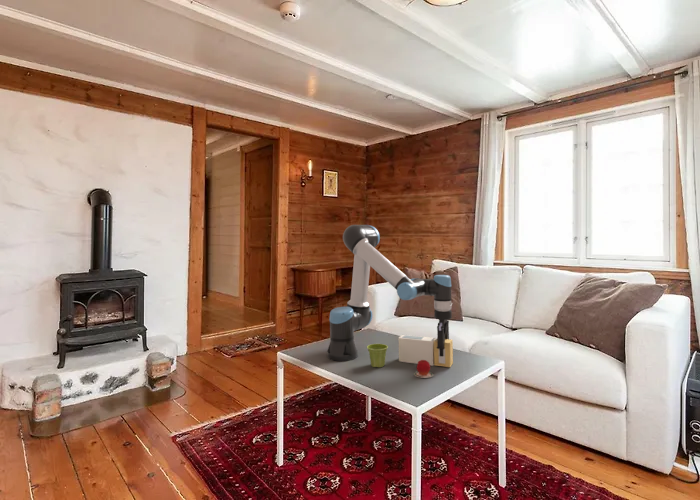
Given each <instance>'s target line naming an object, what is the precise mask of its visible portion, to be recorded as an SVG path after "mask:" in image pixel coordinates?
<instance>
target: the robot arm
mask: <svg viewBox="0 0 700 500" xmlns="http://www.w3.org/2000/svg"><path fill="white" fill-rule="evenodd" d="M380 236H381V235H380V232H379V231H378V229H377V228H376V227H375V226H373V225H369V224H351V225H349V226H347V227H346V229H345V230H344V231H343V233H342V241H343V244H344V245H345V248H347V249H348V250H349V251H350V252H351V253H352V254H353V255H354V256H353V268H352V276H351V277H352V281H351V291H350V300H348V301H347V303H346V304H347V305H346V306H339V307H334V308H333V309H331V310H330V313H329V319H328V320H329V333H330V334H329V339H330V340H329V343H328V348H327V351H326V357H327V359H329V360H331V359H332V361H337V362H342V361H344V362H345V361H352V360H354V359H357V357H358V355H359V352H358V348H357V345H356V343H355V337H354V336H355V332H356V331H357V330H360V329H364V328H366V327H367V326H369V325H370V323H372V320H373V311H372V309H371V307H370V302H368V293H369V284H370V283H369V281H370V272H371V271H370V270H371V268H372V269H373V270H374V271H375V273H377V274H379V275H380V277H382V278H383V279H384V280H385V281H386V282H387V283H388V284H389V285H391V287H392V288H394V289H395V290H396V293H397V296H398V297H399V299H400V300H402V301H410V300H413V299H416V298H419V297H421V296H433V304H434V305H433V308H434V311H433V312H434V319H436V320H438V322H437V326H436V330H437V334H436V335H437V338H436V339H437V349H439V363H443V364H445V349H444V348H445V347H444V346H445V339H450V331H449V330H450V329H449V328H450V327H449V324H450V320H451V319H452V318H453V316H452V314H453V313H452V305H453V304H454V303H453V302H452V279H451V276H450V275H449V274H436V275H434V276H433V278H432V279H431V278H428V279H427V278H418V277H416V278H411V279H410V278H409V276H407V275H406V274H405V273H404V272H403V271H401V270H400V269H399V268H398V267H397V266H396V265H394V263H392V262H391V261H390V260H389V259H388V258H387V257H386V256H384V255H383V254H382V253H381V252H380V251H379V250H378V249H376V247H377V245H379V243H380V241H381V240H380V239H381V237H380Z"/></svg>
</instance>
